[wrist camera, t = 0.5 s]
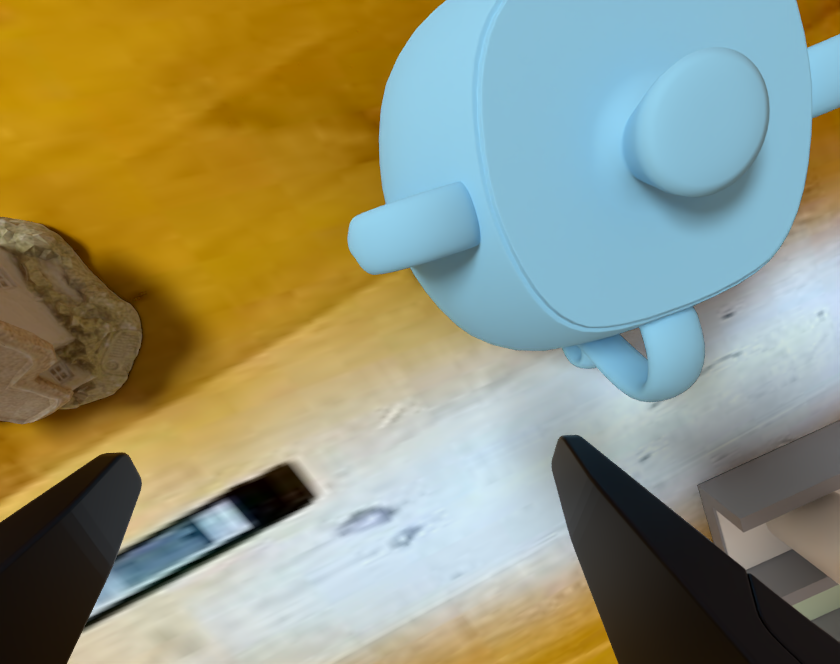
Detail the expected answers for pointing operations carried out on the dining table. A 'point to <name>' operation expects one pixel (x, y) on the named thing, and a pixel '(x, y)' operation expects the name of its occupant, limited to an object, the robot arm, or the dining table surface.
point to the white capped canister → (813, 533)
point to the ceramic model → (57, 327)
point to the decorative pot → (595, 169)
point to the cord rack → (768, 499)
